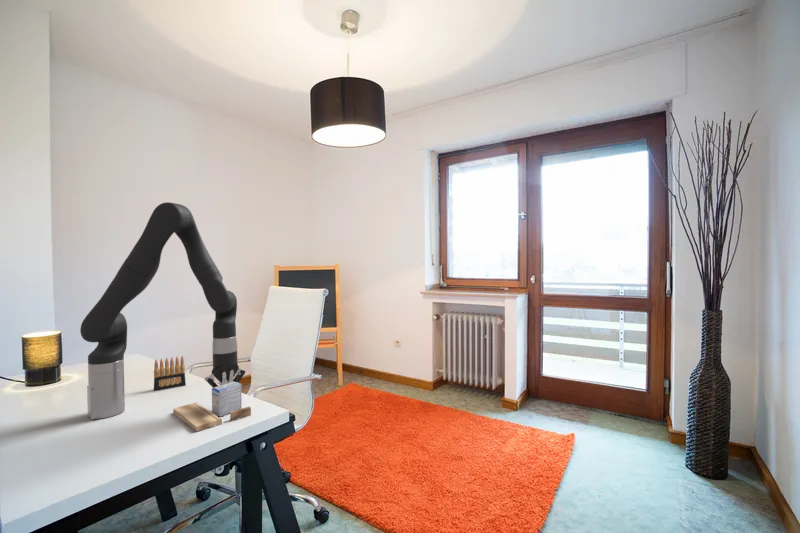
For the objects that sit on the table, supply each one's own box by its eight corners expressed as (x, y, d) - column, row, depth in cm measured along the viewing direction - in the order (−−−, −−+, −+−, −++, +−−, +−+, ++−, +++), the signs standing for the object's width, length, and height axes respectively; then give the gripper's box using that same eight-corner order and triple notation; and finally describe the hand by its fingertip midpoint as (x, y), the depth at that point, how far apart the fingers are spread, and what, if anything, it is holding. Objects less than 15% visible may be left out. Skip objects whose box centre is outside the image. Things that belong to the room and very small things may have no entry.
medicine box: (233, 406, 126) (233, 380, 126) (242, 408, 124) (241, 382, 124) (211, 414, 119) (211, 387, 119) (220, 417, 117) (219, 390, 117)
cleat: (231, 420, 114) (231, 413, 114) (230, 419, 115) (230, 412, 115) (250, 414, 119) (250, 407, 119) (249, 413, 120) (249, 406, 120)
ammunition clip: (154, 391, 144) (153, 360, 144) (153, 390, 145) (153, 359, 145) (185, 385, 150) (185, 355, 150) (185, 384, 152) (184, 354, 152)
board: (196, 431, 107) (196, 426, 107) (173, 413, 121) (173, 408, 121) (221, 423, 112) (221, 418, 112) (196, 406, 127) (196, 402, 127)
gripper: (239, 345, 133) (241, 393, 133) (199, 352, 123) (201, 404, 123) (249, 348, 127) (250, 398, 128) (208, 355, 118) (210, 410, 118)
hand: (226, 401), depth 125 cm, fingers closed
